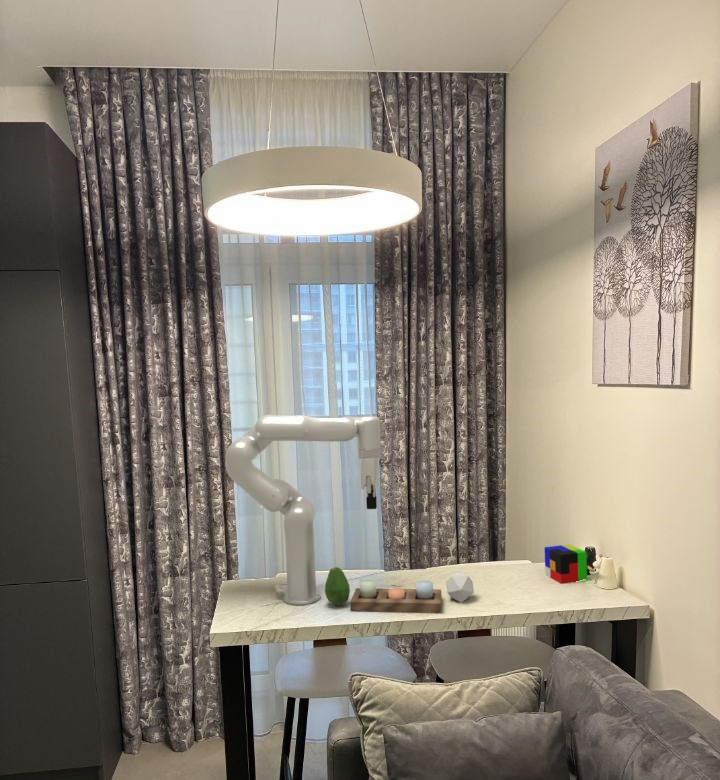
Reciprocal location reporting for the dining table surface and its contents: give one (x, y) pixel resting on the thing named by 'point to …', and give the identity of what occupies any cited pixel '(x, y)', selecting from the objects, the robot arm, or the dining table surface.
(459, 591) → the die
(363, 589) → the button sage
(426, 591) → the button blue
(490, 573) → the dining table surface
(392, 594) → the button terracotta
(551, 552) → the puzzle toy
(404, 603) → the board
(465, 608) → the dining table surface
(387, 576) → the dining table surface
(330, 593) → the avocado
